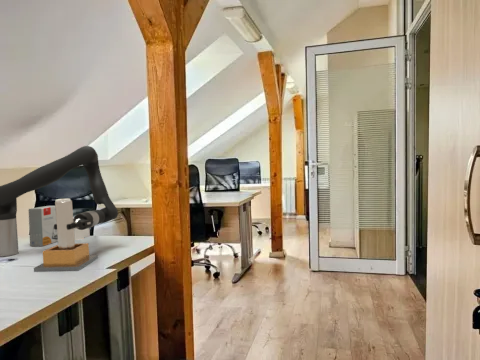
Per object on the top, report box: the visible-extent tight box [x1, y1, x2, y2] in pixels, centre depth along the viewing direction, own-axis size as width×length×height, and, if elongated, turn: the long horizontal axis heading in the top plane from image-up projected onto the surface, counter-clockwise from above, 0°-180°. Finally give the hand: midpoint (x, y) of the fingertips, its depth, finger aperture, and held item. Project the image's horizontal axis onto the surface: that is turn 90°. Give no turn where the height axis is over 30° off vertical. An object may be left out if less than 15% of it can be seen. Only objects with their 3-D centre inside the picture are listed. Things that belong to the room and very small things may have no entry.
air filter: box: [54, 198, 76, 250], centre depth 154 cm, size 6×6×25 cm
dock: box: [33, 242, 98, 273], centre depth 155 cm, size 18×18×8 cm
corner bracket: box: [74, 228, 91, 241], centre depth 212 cm, size 11×11×12 cm
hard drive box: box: [28, 205, 58, 247], centre depth 199 cm, size 16×8×20 cm, turn 171°
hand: (61, 227), depth 152 cm, fingers closed on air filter, 5 cm apart
